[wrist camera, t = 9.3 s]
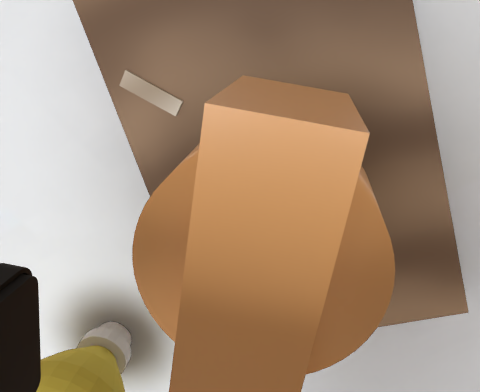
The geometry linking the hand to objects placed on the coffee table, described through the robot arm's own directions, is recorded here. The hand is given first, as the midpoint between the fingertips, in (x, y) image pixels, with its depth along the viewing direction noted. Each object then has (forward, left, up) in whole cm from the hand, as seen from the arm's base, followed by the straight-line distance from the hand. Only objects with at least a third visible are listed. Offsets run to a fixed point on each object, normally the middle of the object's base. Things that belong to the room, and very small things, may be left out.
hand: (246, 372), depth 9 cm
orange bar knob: (0, 0, -7) cm, 7 cm away
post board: (0, 0, -16) cm, 16 cm away
